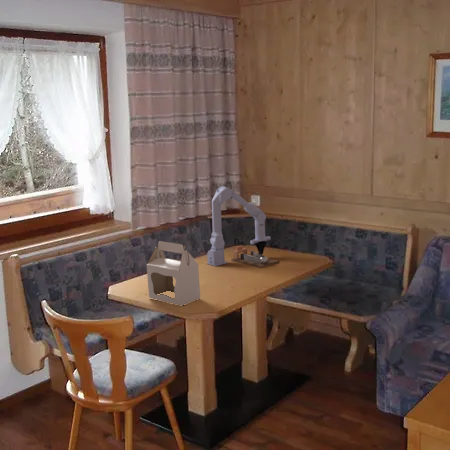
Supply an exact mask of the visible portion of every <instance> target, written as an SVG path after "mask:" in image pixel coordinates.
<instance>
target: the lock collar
mask: <svg viewBox="0 0 450 450" xmlns="http://www.w3.org/2000/svg"><path fill="white" fill-rule="evenodd" d="M241 253H243V254H247V255H248V248H245V247H244V248H243V245H238V246H235V250H233V258H235V259H239V257H240V256H239V254H241Z"/></svg>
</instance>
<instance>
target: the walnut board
mask: <svg viewBox="0 0 450 450" xmlns="http://www.w3.org/2000/svg"><path fill="white" fill-rule="evenodd" d="M247 255H251V253H250V254H249V253H247ZM231 261H233V262H235V263H236V262H237V263H240V264H244V265H248V266H252V267H255V268H259V269H263V268H266V267H269V266H272V265H277V264H279V263H280V260H277V259H272V258H268V257H267V264H258V263H254V262H250V261H246V260H242V259H241V255H240V256H239V259H235V258H234V257H232V258H231Z"/></svg>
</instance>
